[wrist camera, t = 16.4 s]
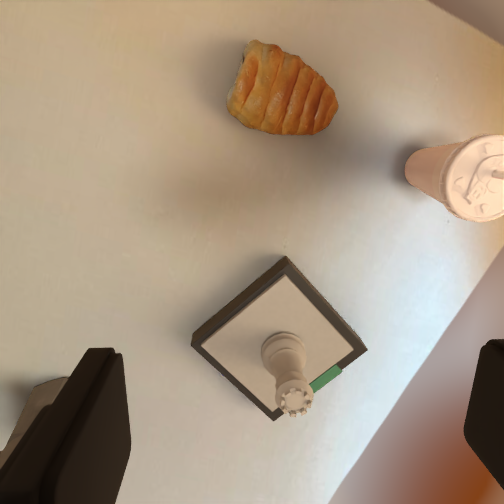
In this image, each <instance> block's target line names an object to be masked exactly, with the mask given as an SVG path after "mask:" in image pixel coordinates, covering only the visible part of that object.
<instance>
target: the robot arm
mask: <svg viewBox="0 0 504 504" xmlns="http://www.w3.org/2000/svg"><path fill="white" fill-rule="evenodd" d="M464 436H465V439H466V441H467V443H468V444H469V446H470V447H471V448H472V450H473V451H474V452H475V453H476V455H477V456H478V457H479V459H480V460H481V461H482V462H483V464H484V465H485V466H486V468H487V469H488V470H489V472H490V473H491V474H492V475H493V477H494V478H495V479H496V481H497V482H498V483H499V484H500V486H501V487H502V488H503V489H504V339H492V340H489V341H488V342H487V343H486V345H484V346H483V347H482V348H481V350H480V354H479V359H478V364H477V368H476V373H475V378H474V382H473V387H472V391H471V397H470V401H469V406H468V410H467V415H466V419H465V424H464ZM130 451H131V434H130V424H129V414H128V404H127V394H126V385H125V375H124V365H123V357H122V354H121V353H115V350H114V348H89V349H88V350H87V351H86V353H85V354H84V356H83V357H82V359H81V360H80V362H79V363H78V365H77V366H76V368H75V369H74V371H73V373H72V374H71V376H70V377H69V379H68V380H67V382H66V383H65V385H64V386H63V388H62V389H61V391H60V392H59V394H58V395H57V397H56V399H55V400H54V402H53V403H52V404H48V405H46V406H44V407H43V408H42V409H41V410H40V412H39V413H38V415H37V416H36V418H35V419H34V421H33V422H32V423H31V425H30V426H29V428H28V429H27V431H26V432H25V434H24V435H23V437H22V438H21V440H20V441H19V443H18V444H17V446H16V447H15V448H14V450H13V451H12V453H11V454H10V456H9V457H8V459H7V460H6V462H5V463H4V465H3V466H2V468H1V469H0V504H115V502H116V499H117V495H118V492H119V489H120V486H121V482H122V479H123V476H124V473H125V469H126V466H127V463H128V459H129V456H130Z"/></svg>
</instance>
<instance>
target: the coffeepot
mask: <svg viewBox="0 0 504 504" xmlns="http://www.w3.org/2000/svg"><path fill="white" fill-rule="evenodd" d="M67 380H68V378H61V379H56V380H51V381H49V382H46V383H44V384H42V385H39V386H36V387H34V388H33V390H32V393H31V395H30V397H29V399H28V401H27V403H26V405H25V407H24V409H23V411H22V414H21V416H20V418H19V420H18V422H17V424H16V426H15V428H14V430H13V432H12V434H11V436H10V438H9V440H8V443H7V445H6V447H5V448H4V450H3V451H0V469H1V468H2V466H3V465H4V463H5V462H6V460H7V459H8V457H9V456H10V454H11V453H12V451H13V450H14V448H15V447H16V446H17V444H18V443H19V441H20V440H21V438H22V437H23V435H24V434H25V432H26V431H27V429H28V428H29V426H30V425H31V423H32V422H33V421H34V419H35V418H36V416H37V415H38V413H39V412H40V410H41V409H42V408H43V407H44V406H46V405H48V404H52V403H53V402H54V400H55V399H56V397H57V395H58V394H59V392H60V391H61V389H62V388H63V386H64V385H65V383H66V382H67Z"/></svg>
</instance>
